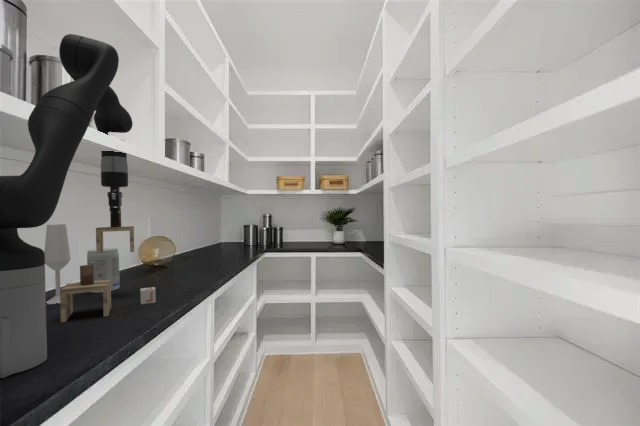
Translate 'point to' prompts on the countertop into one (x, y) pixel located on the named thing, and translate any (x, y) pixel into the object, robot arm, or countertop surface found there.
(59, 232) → the champagne flute
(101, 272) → the supplement tub
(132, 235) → the oak cover
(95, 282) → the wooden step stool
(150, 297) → the letter cube
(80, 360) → the countertop surface
